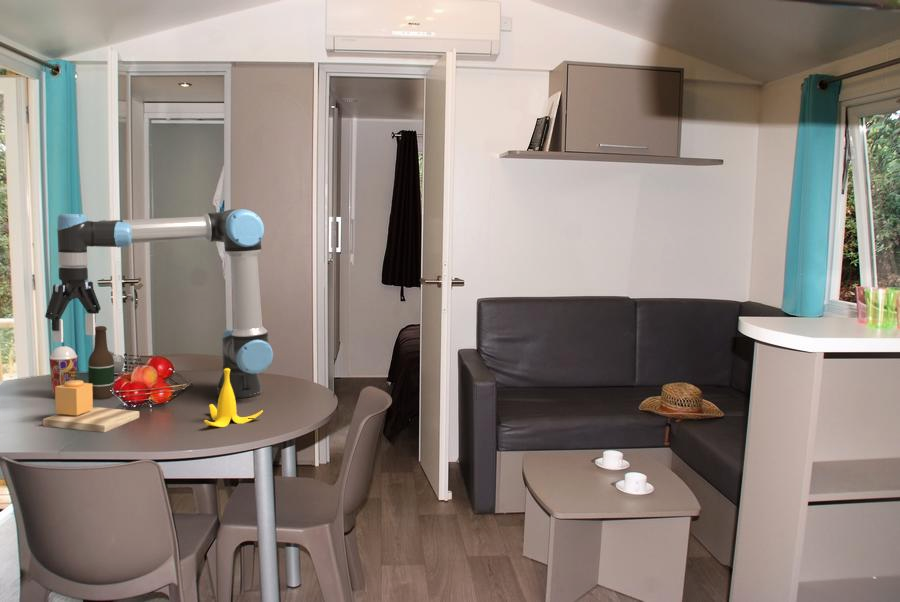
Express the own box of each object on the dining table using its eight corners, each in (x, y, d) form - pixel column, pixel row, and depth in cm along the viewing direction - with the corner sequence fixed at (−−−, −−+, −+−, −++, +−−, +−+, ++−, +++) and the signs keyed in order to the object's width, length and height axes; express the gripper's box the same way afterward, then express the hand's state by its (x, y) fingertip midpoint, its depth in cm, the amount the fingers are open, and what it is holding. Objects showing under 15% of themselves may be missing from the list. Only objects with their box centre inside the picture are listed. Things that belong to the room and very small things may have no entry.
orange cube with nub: (92, 409, 216) (92, 380, 215) (76, 415, 209) (76, 385, 208) (72, 407, 217) (71, 378, 216) (55, 413, 210) (55, 383, 209)
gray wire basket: (84, 378, 267) (84, 352, 266) (102, 372, 278) (102, 347, 277) (151, 383, 264) (151, 356, 262) (167, 376, 275) (167, 351, 274)
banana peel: (211, 414, 226) (211, 362, 224) (264, 421, 221) (265, 367, 219) (177, 427, 210) (177, 372, 208) (234, 435, 205) (234, 378, 203)
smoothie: (77, 399, 237) (75, 339, 235) (48, 400, 234) (46, 340, 231) (79, 393, 244) (78, 335, 242) (52, 394, 241) (50, 336, 239)
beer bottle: (90, 394, 243) (88, 325, 240) (115, 393, 246) (114, 324, 243) (87, 400, 236) (86, 328, 233) (113, 399, 239) (112, 328, 236)
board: (139, 417, 218) (139, 388, 217) (104, 432, 203) (104, 401, 202) (81, 411, 222) (81, 383, 221) (43, 425, 206) (42, 395, 205)
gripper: (90, 263, 222) (92, 331, 224) (29, 268, 197) (31, 344, 200) (112, 265, 220) (113, 332, 223) (53, 269, 196) (55, 346, 198)
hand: (74, 338), depth 211 cm, fingers open, 13 cm apart
